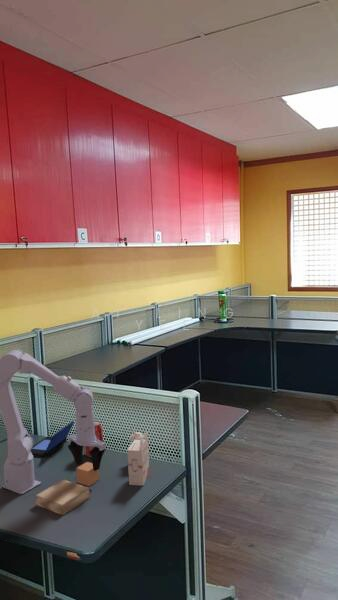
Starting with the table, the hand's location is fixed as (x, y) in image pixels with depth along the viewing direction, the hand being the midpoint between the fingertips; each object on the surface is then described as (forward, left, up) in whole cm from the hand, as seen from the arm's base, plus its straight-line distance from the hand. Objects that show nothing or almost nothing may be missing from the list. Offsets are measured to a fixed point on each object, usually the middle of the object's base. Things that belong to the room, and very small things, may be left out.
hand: (87, 466), depth 149 cm
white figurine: (+7, +19, -5) cm, 20 cm away
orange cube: (0, 0, -5) cm, 5 cm away
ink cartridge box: (+14, +9, -5) cm, 17 cm away
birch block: (+2, -13, -5) cm, 14 cm away
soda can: (-12, +16, -5) cm, 21 cm away
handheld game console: (-31, +12, -5) cm, 33 cm away
